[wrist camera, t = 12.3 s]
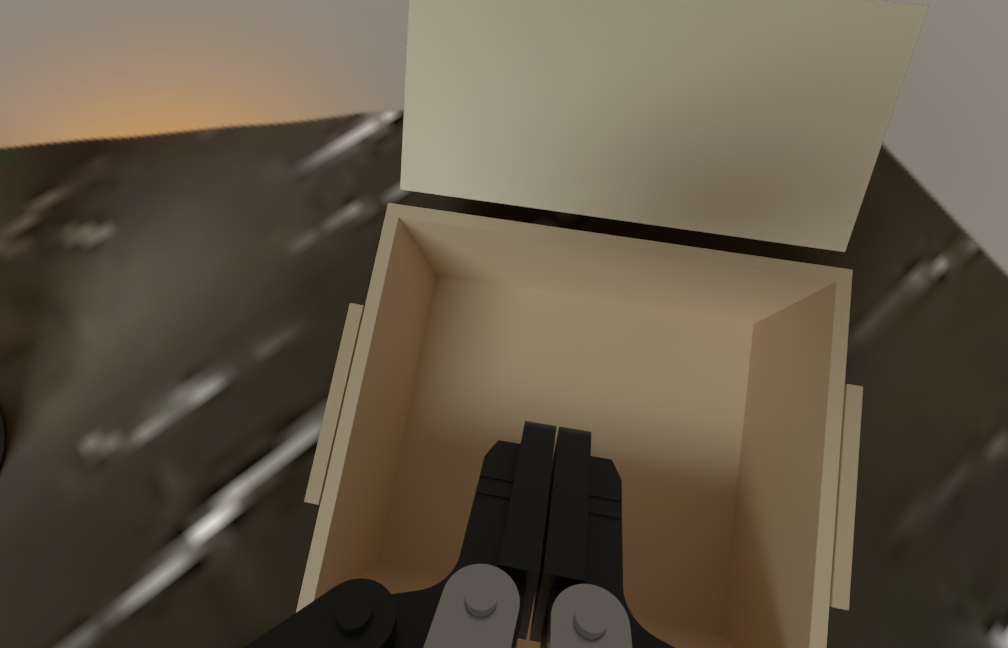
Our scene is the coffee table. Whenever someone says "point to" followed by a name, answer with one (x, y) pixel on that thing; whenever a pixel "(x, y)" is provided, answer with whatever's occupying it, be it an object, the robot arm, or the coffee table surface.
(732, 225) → the flap
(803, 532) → the carton
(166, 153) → the coffee table surface
